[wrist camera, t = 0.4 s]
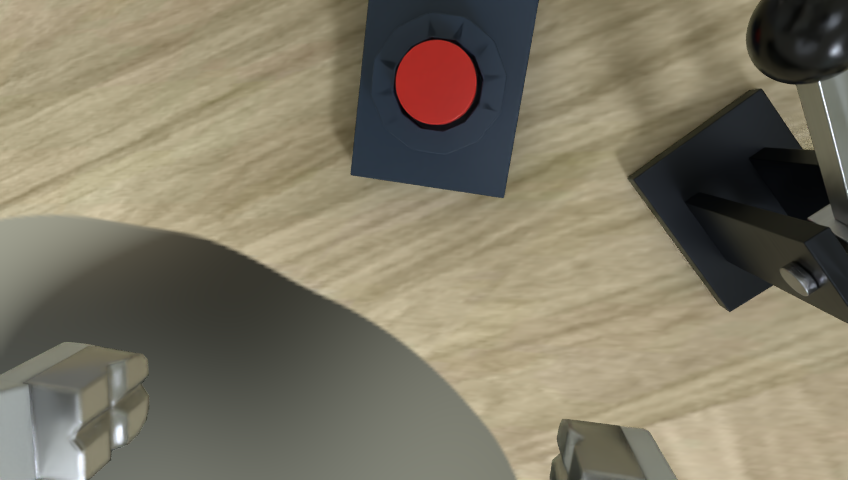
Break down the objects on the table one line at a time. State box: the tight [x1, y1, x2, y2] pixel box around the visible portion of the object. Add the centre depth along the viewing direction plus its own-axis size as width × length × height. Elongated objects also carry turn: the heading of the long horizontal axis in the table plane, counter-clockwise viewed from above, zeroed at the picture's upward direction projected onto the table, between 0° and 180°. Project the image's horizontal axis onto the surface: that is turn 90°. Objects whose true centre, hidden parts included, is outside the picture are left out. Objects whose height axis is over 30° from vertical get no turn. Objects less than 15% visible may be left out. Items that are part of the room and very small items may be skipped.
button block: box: [351, 0, 539, 198], centre depth 28 cm, size 11×9×4 cm
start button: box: [396, 40, 477, 125], centre depth 25 cm, size 4×4×2 cm
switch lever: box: [746, 0, 848, 254], centre depth 17 cm, size 13×3×3 cm, turn 39°
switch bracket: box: [628, 89, 848, 323], centre depth 23 cm, size 10×8×12 cm
